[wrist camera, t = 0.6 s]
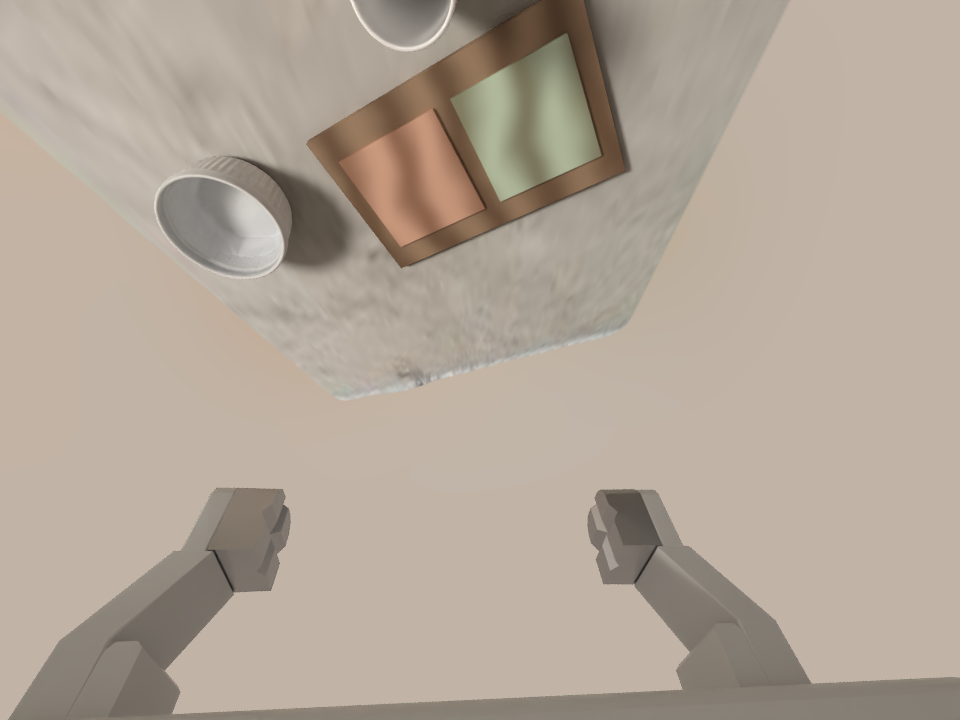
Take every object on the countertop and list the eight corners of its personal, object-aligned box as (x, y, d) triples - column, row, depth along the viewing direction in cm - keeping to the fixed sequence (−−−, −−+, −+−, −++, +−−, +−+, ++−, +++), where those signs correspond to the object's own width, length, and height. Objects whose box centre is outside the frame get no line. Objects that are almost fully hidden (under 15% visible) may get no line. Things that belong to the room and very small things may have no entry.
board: (576, -23, 37) (579, -20, 36) (623, 166, 49) (626, 172, 48) (308, 140, 47) (305, 145, 46) (402, 263, 59) (400, 270, 58)
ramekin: (284, 147, 48) (262, 177, 43) (313, 249, 57) (298, 282, 53) (161, 142, 47) (126, 171, 43) (212, 245, 57) (188, 278, 52)
